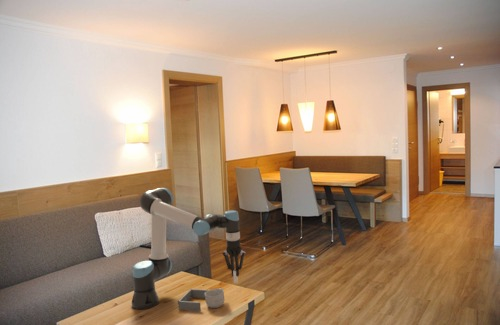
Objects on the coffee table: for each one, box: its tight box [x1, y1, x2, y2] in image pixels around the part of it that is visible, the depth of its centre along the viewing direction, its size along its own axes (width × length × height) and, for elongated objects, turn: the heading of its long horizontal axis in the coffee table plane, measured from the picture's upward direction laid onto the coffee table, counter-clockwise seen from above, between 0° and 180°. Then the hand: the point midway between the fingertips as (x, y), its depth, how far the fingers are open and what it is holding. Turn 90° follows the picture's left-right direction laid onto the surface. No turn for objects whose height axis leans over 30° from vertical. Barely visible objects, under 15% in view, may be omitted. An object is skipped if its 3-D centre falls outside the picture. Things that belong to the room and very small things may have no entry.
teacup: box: [204, 287, 225, 309], centre depth 226 cm, size 14×11×8 cm
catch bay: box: [177, 288, 209, 312], centre depth 230 cm, size 13×18×4 cm
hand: (235, 281), depth 222 cm, fingers closed
